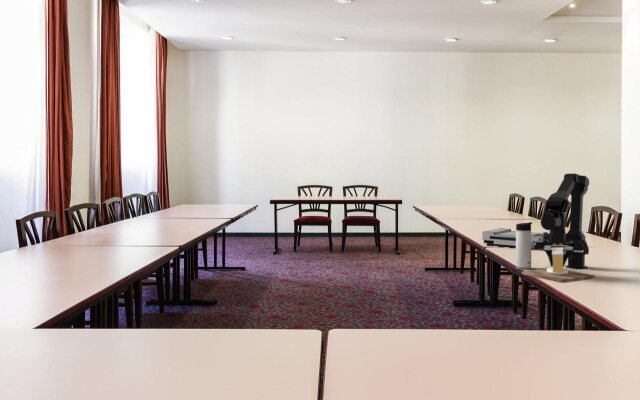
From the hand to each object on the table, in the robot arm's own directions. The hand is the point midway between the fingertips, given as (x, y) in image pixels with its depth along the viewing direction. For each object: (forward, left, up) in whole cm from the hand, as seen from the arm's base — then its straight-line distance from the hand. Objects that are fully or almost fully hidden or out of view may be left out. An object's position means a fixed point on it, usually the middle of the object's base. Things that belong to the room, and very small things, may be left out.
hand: (557, 266), depth 226 cm
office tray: (-48, -71, -4) cm, 86 cm away
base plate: (0, 0, -4) cm, 4 cm away
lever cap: (0, 0, -3) cm, 3 cm away
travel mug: (-1, -19, -4) cm, 19 cm away
